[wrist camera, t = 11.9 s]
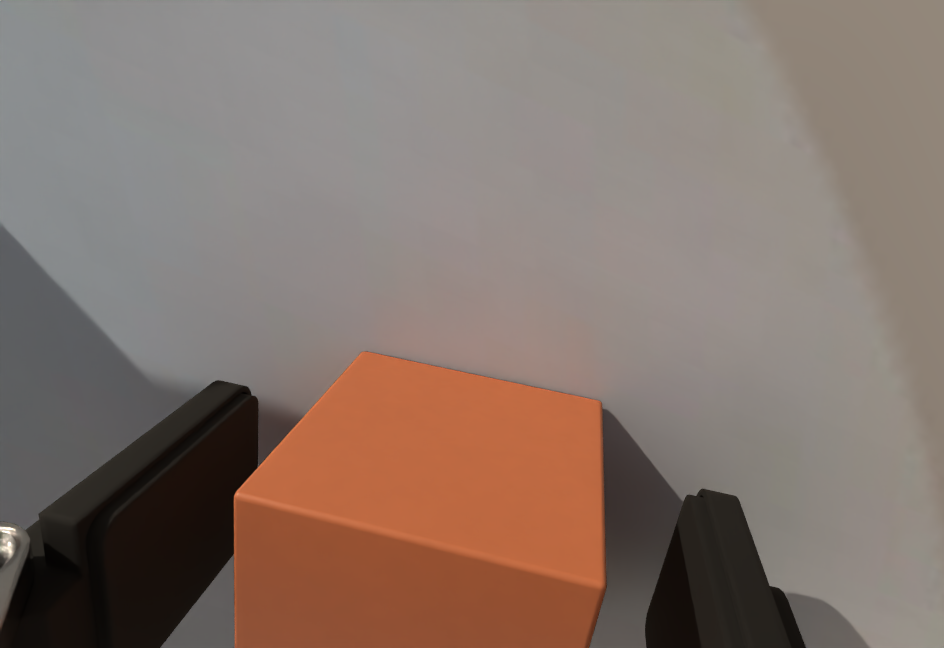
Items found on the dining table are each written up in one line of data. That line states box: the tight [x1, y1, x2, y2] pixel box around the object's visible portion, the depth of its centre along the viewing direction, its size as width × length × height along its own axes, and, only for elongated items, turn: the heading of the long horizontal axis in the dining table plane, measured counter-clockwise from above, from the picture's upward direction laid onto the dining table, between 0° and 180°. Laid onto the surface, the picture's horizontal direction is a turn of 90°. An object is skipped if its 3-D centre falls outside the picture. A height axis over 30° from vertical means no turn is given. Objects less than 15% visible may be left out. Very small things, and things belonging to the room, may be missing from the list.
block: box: [234, 352, 607, 648], centre depth 10 cm, size 4×4×4 cm
